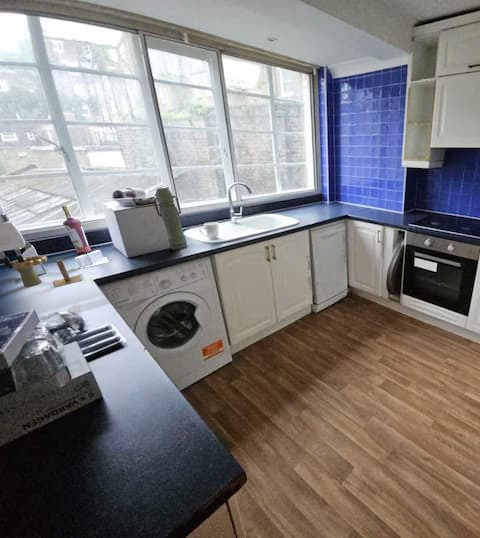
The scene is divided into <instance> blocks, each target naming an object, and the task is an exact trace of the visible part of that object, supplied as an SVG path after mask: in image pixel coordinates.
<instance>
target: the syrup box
mask: <svg viewBox="0 0 480 538" xmlns="http://www.w3.org/2000/svg"><path fill="white" fill-rule="evenodd" d="M20 249H21V248H20ZM38 255H39V254H38V253H37V250H36V248H35V247H34V246H33V245H32V247H31V248H29V249H27V250H25V252H24V253H23V254H22V257H23V258H24V257H30V256H38ZM33 270H34V272H35V273H36V274H37V276H38V277H39V276H42V275H46V274H47V271H46V269H45V267H44V264H43V263H42V264H39V265H35V266H33Z"/></svg>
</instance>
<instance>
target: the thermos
mask: <svg viewBox="0 0 480 538" xmlns="http://www.w3.org/2000/svg"><path fill="white" fill-rule="evenodd" d="M155 195H156V197H155V198H154V199H153V201H152V202H153V205H154V208H155V210H156V214H157V216H158V217H160V218H161V220H162V221H163V223H164V227H165V230H166V233H167V240H168V244H169V246H170V249H171V250H172V251H173V250H175V251H177V250H183V249H185V248H187V247H188V244H187V238H186V236H185V234H184V231H183V228H182V224H181V220H180V219H181V218H180V214H182V209H181V206H180V203H179V198H178V197H177V196H176V195H173V193H172V191H171V189H170V188H168V187H158V188H157V189H155ZM174 199H175V200H174ZM175 202H176V203H175ZM157 203H158V204H159V208H158V204H157ZM176 205H177V206H176Z"/></svg>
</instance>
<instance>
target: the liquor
mask: <svg viewBox="0 0 480 538" xmlns="http://www.w3.org/2000/svg"><path fill="white" fill-rule="evenodd" d="M61 209H62V211H63V212H64V215H65V219H66V220H64V221H63V222H62V225H63V227H64V228H65V231H66V233H67V234H68V237H69V238H70V240H71V242H72V245H73V246H74V248H75V250H76V254H78V255H85V254H86V253H91V252H92V248H91V246H90V245H89V242H88V240H87V236H86V234H85V231H84V227H83V225H82V222H81V220H79V219H77V218H74V216H73V214H72V213H71V211H70V207H69V205H66V204H65V205H61Z"/></svg>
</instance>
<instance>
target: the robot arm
mask: <svg viewBox="0 0 480 538" xmlns="http://www.w3.org/2000/svg"><path fill="white" fill-rule="evenodd" d="M32 246H33V245H32V244H31V243H30V242H29V241H27V240H25V238H24V236H23V234H22V233H21V230H20V229H19V228H18V226H17V225H16V224H15V222H14V221H13V220H10V219H9V217H8V214H7V212H6V210H5V208H4V206H3V204H2V202H1V201H0V260H2V262H3V264H4V267H8V269H12V268H13V267H12V266H11V262H12V261H11V260H10V258H9V256H7V255H6V253H5V252H7V251H14V252H15V259H16V260H18V262H19V263H22V262H25V261H24V259H23V257H22V254H23V253H24V252H25V250H27V249H29V248H31V247H32ZM20 248H21V249H20Z"/></svg>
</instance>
